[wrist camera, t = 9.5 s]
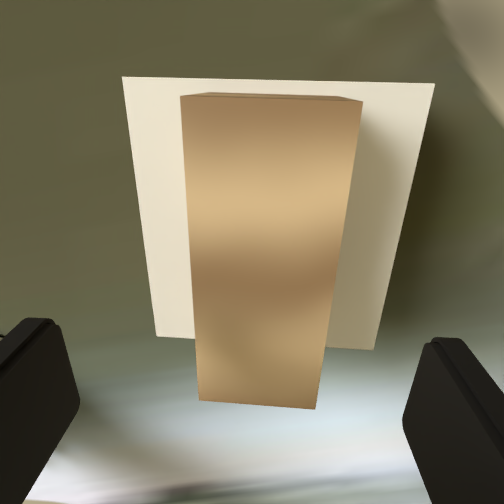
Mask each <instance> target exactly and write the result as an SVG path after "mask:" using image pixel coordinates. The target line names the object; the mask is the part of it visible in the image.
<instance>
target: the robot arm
mask: <svg viewBox="0 0 504 504" xmlns="http://www.w3.org/2000/svg"><path fill="white" fill-rule="evenodd" d="M79 404H80V397H79V394H78V390H77V386H76V383H75V379H74V375H73V372H72V368H71V364H70V361H69V357H68V353H67V350H66V346H65V342H64V339H63V335H62V331H61V328H60V326H59V325H55V322H54V321H53V320H52V319H49V318H25V319H24V320H22V321H21V322H20V323H19V324H18V325H17V326H16V327H15V328H13V329H12V330H11V331H10V332H9V333H8V334H7V335H6V336H5V337H4V338H1V337H0V504H22V503H23V501H24V500H25V498H26V496H27V495H28V493H29V491H30V490H31V488H32V486H33V485H34V483H35V481H36V480H37V478H38V477H39V475H40V473H41V472H42V470H43V468H44V467H45V465H46V463H47V462H48V460H49V458H50V457H51V455H52V453H53V452H54V450H55V448H56V447H57V445H58V443H59V442H60V440H61V438H62V437H63V435H64V433H65V432H66V430H67V428H68V427H69V425H70V423H71V422H72V420H73V418H74V417H75V415H76V413H77V411H78V408H79ZM402 424H403V430H404V433H405V436H406V438H407V441H408V443H409V446H410V449H411V451H412V454H413V456H414V459H415V461H416V464H417V467H418V469H419V472H420V474H421V477H422V479H423V482H424V484H425V487H426V490H427V492H428V495H429V497H430V500H431V502H432V504H504V393H503V392H502V391H501V390H500V388H499V387H498V386H497V384H496V383H495V382H494V380H493V379H492V378H491V376H490V375H489V374H488V373H487V371H486V370H485V369H484V367H483V366H482V365H481V363H480V362H479V361H478V360H477V358H476V357H475V356H474V354H473V353H472V352H471V350H470V349H469V348H468V346H467V345H466V344H465V343H464V342H463V341H462V340H461V339H459V338H443V337H435V338H433V339H432V340H431V342H430V343H426V344H425V345H424V347H423V351H422V354H421V357H420V361H419V364H418V367H417V371H416V374H415V377H414V381H413V384H412V387H411V390H410V394H409V397H408V400H407V404H406V407H405V410H404V414H403V418H402Z"/></svg>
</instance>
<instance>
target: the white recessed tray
mask: <svg viewBox="0 0 504 504" xmlns="http://www.w3.org/2000/svg"><path fill="white" fill-rule="evenodd" d="M122 80H123V88H124V95H125V103H126V110H127V118H128V125H129V133H130V140H131V148H132V155H133V163H134V170H135V178H136V185H137V193H138V200H139V208H140V215H141V223H142V230H143V238H144V245H145V252H146V260H147V267H148V275H149V282H150V290H151V297H152V305H153V312H154V320H155V327H156V335H157V336H163V337H178V338H194V339H195V330H194V314H193V298H192V282H191V266H190V250H189V234H188V219H187V203H186V187H185V171H184V155H183V139H182V123H181V107H180V96H183V95H191V94H198V93H206V92H225V93H258V94H292V95H325V96H341V97H345V98H350V99H354V100H358V101H363V107H362V113H361V120H360V126H359V133H358V139H357V145H356V152H355V158H354V164H353V171H352V177H351V184H350V190H349V196H348V203H347V209H346V216H345V222H344V228H343V235H342V241H341V248H340V254H339V260H338V267H337V273H336V280H335V286H334V292H333V299H332V305H331V311H330V318H329V324H328V331H327V337H326V343H325V347H333V348H348V349H363V350H373V349H374V345H375V340H376V336H377V332H378V327H379V323H380V319H381V314H382V310H383V306H384V302H385V297H386V293H387V289H388V284H389V280H390V276H391V271H392V267H393V263H394V258H395V254H396V250H397V245H398V241H399V237H400V233H401V228H402V224H403V220H404V215H405V211H406V207H407V202H408V198H409V194H410V189H411V185H412V181H413V177H414V172H415V168H416V164H417V159H418V155H419V151H420V146H421V142H422V138H423V133H424V129H425V125H426V120H427V116H428V112H429V108H430V103H431V99H432V95H433V90H434V86H435V84H430V83H383V82H337V81H290V80H244V79H197V78H150V77H122Z"/></svg>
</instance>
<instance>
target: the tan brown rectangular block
mask: <svg viewBox="0 0 504 504" xmlns="http://www.w3.org/2000/svg"><path fill="white" fill-rule="evenodd" d="M180 107H181V123H182V139H183V155H184V171H185V187H186V203H187V219H188V234H189V250H190V266H191V282H192V298H193V314H194V330H195V346H196V362H197V378H198V394H199V400H201V401H214V402H226V403H239V404H252V405H264V406H277V407H290V408H302V409H315V407H316V401H317V395H318V388H319V382H320V375H321V369H322V363H323V356H324V350H325V343H326V337H327V331H328V324H329V318H330V311H331V305H332V299H333V292H334V286H335V280H336V273H337V267H338V260H339V254H340V248H341V241H342V235H343V228H344V222H345V216H346V209H347V203H348V196H349V190H350V184H351V177H352V171H353V164H354V158H355V152H356V145H357V139H358V133H359V126H360V120H361V113H362V107H363V101H358V100H354V99H350V98H345V97H341V96H325V95H292V94H258V93H225V92H206V93H198V94H191V95H183V96H180Z"/></svg>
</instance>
